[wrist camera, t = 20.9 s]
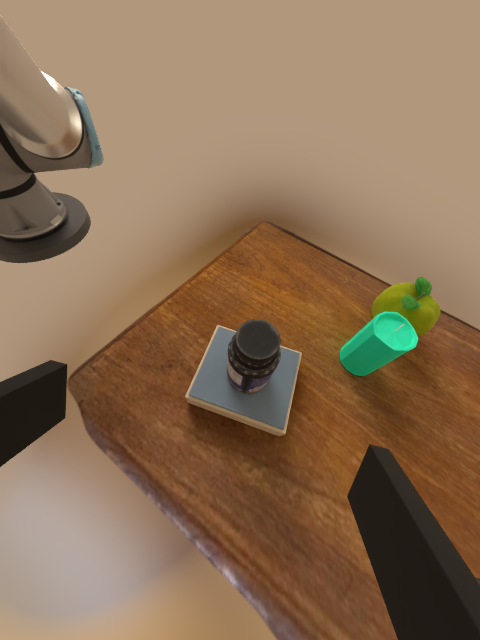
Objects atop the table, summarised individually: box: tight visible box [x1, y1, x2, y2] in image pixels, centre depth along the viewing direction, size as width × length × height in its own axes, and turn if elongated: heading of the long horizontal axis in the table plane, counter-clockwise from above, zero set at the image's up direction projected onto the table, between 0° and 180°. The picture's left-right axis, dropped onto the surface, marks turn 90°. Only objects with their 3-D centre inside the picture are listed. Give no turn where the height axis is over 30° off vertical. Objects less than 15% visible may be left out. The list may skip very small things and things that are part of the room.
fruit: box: [371, 277, 440, 336], centre depth 39 cm, size 9×9×10 cm
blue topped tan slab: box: [185, 325, 302, 436], centre depth 35 cm, size 14×12×4 cm
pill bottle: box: [227, 319, 281, 393], centre depth 28 cm, size 6×6×11 cm
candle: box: [339, 312, 418, 376], centre depth 35 cm, size 6×6×12 cm
